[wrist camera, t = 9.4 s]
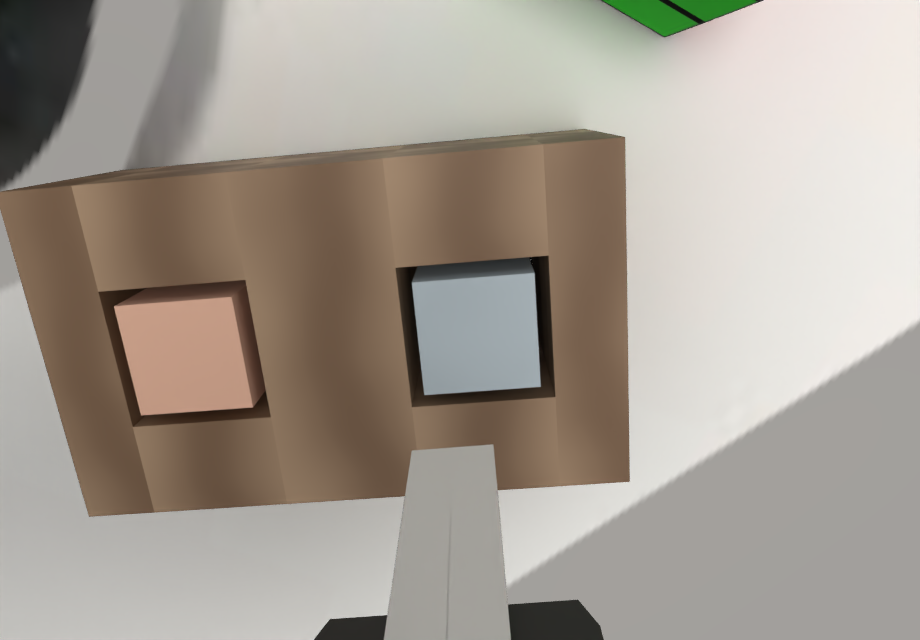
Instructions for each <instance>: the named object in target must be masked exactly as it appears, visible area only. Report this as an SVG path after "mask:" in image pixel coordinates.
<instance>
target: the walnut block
mask: <svg viewBox="0 0 920 640" xmlns="http://www.w3.org/2000/svg"><path fill="white" fill-rule="evenodd" d="M0 210H1V213H2V216H3V220H4V223H5V227H6V230H7V234H8V237H9V241H10V244H11V248H12V251H13V255H14V258H15V262H16V265H17V268H18V272H19V276H20V279H21V282H22V286H23V289H24V293H25V296H26V300H27V303H28V307H29V310H30V314H31V317H32V321H33V324H34V328H35V331H36V334H37V338H38V341H39V345H40V348H41V352H42V355H43V359H44V362H45V366H46V369H47V373H48V376H49V379H50V383H51V386H52V390H53V393H54V397H55V400H56V404H57V407H58V411H59V414H60V418H61V421H62V425H63V428H64V431H65V435H66V438H67V442H68V445H69V449H70V452H71V456H72V459H73V463H74V466H75V470H76V473H77V476H78V480H79V483H80V487H81V490H82V494H83V497H84V501H85V504H86V508H87V511H88V515H89V517H91V516H107V515H122V514H138V513H153V512H168V511H184V510H199V509H215V508H230V507H245V506H261V505H276V504H292V503H307V502H323V501H338V500H353V499H369V498H384V497H400V496H405V493H406V486H407V479H408V473H409V466H410V459H411V452H412V451H413V450H426V449H439V448H452V447H466V446H479V445H492V444H493V445H494V457H495V468H496V479H497V490H508V489H523V488H538V487H554V486H569V485H585V484H600V483H616V482H630V473H629V399H628V326H627V252H626V179H625V137H622V136H617V135H612V134H607V133H602V132H597V131H592V130H587V129H580V130H569V131H558V132H546V133H535V134H524V135H513V136H501V137H490V138H479V139H467V140H456V141H445V142H434V143H422V144H411V145H400V146H389V147H377V148H366V149H355V150H344V151H332V152H321V153H310V154H299V155H287V156H276V157H265V158H254V159H242V160H231V161H220V162H209V163H197V164H186V165H175V166H164V167H152V168H141V169H130V170H120V171H114V172H109V173H103V174H97V175H92V176H86V177H80V178H74V179H69V180H63V181H58V182H52V183H46V184H41V185H35V186H29V187H24V188H18V189H13V190H7V191H1V192H0ZM524 257H532V268H533V270H534V274H535V292H536V310H537V328H538V346H539V364H540V383H541V387H531V388H517V389H504V390H490V391H476V392H462V393H448V394H434V395H424V388H423V379H422V370H421V361H420V352H419V343H418V334H417V325H416V316H415V307H414V298H413V289H412V281H413V278H414V275H415V272H416V270H417V267H418V266H424V265H437V264H449V263H462V262H474V261H486V260H499V259H511V258H524ZM238 280H245V281H246V286H247V292H248V297H249V302H250V308H251V313H252V318H253V324H254V329H255V335H256V340H257V345H258V351H259V356H260V361H261V367H262V372H263V377H264V383H265V388H266V391H265V392H264V393H263V395H262V396H261V397H260V399H259V400H258V401H257V403H256V404H255V405H254V407H252V408H238V409H224V410H210V411H196V412H182V413H168V414H154V415H141V413H140V409H139V405H138V401H137V397H136V393H135V389H134V385H133V381H132V377H131V373H130V369H129V365H128V361H127V357H126V353H125V349H124V345H123V341H122V337H121V333H120V329H119V325H118V321H117V317H116V313H115V309H114V306H115V305H117V304H119V303H121V302H123V301H124V300H126V299H128V298H130V297H132V296H134V295H135V294H137V293H139V292H141V291H143V290H144V289H146V288H151V287H163V286H176V285H188V284H201V283H213V282H226V281H238Z"/></svg>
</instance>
